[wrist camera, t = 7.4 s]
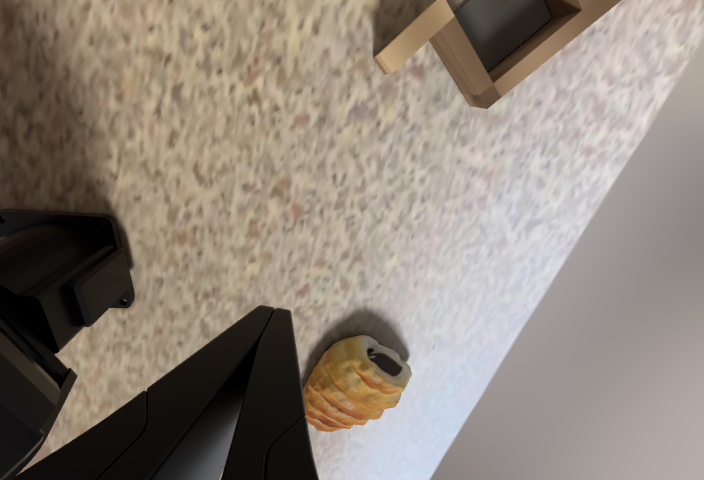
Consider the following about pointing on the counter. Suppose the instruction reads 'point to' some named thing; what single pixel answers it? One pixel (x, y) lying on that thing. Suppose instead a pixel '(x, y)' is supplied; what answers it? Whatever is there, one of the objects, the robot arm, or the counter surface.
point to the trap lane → (492, 40)
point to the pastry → (354, 384)
